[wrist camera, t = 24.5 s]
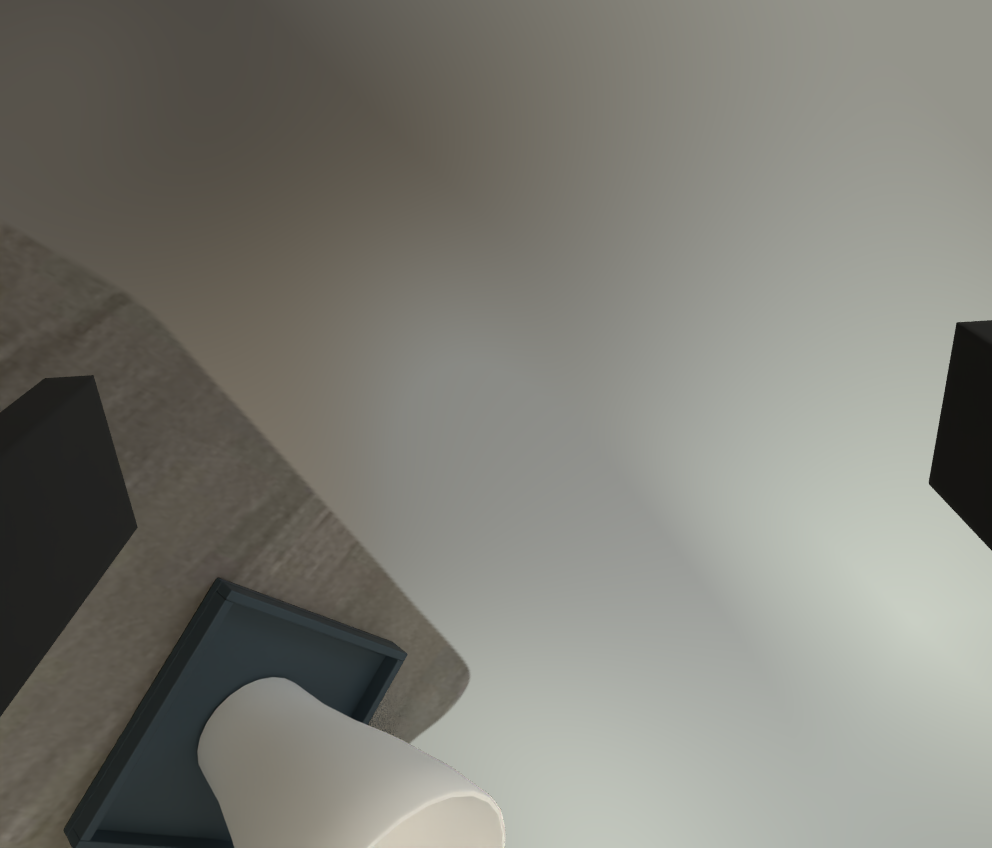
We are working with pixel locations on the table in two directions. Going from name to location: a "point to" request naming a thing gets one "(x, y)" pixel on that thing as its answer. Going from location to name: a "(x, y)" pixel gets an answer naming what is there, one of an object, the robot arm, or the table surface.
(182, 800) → the frame
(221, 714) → the cup
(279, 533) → the table surface
